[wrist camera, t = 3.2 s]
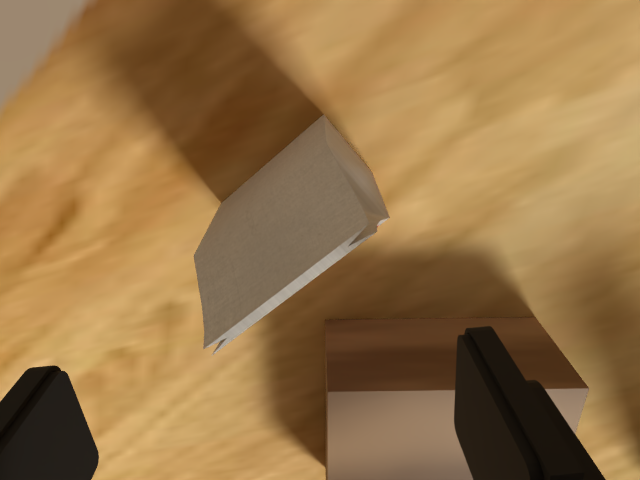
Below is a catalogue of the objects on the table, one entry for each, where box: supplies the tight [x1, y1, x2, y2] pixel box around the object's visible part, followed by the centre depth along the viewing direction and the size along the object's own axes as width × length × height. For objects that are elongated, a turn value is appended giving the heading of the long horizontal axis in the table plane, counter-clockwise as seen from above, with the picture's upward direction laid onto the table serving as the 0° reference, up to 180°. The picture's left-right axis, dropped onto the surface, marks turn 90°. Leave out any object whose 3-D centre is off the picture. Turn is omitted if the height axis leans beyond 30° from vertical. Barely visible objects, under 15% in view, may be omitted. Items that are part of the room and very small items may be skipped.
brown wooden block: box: [325, 317, 589, 480], centre depth 27 cm, size 12×12×6 cm
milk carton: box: [194, 114, 390, 355], centre depth 19 cm, size 4×7×10 cm, turn 130°
